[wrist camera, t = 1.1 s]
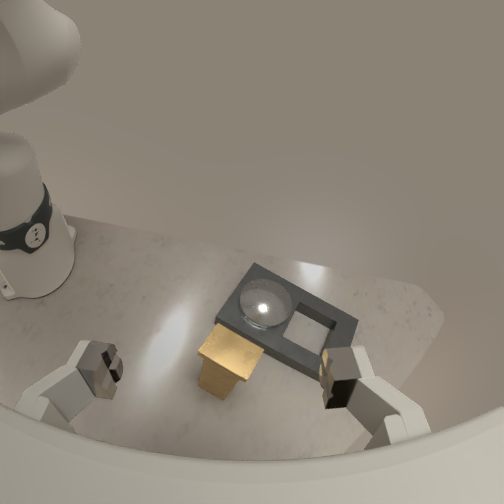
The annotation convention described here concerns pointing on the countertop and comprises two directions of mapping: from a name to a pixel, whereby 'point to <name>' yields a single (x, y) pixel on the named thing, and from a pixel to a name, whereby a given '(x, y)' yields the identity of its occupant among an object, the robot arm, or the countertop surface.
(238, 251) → the countertop surface
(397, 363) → the countertop surface
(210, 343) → the wedge pin
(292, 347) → the gray socket block
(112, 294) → the countertop surface
